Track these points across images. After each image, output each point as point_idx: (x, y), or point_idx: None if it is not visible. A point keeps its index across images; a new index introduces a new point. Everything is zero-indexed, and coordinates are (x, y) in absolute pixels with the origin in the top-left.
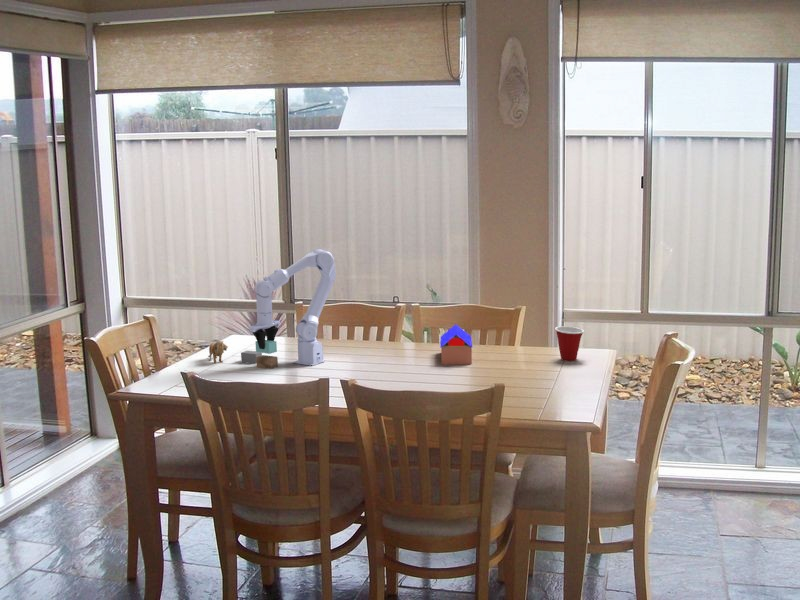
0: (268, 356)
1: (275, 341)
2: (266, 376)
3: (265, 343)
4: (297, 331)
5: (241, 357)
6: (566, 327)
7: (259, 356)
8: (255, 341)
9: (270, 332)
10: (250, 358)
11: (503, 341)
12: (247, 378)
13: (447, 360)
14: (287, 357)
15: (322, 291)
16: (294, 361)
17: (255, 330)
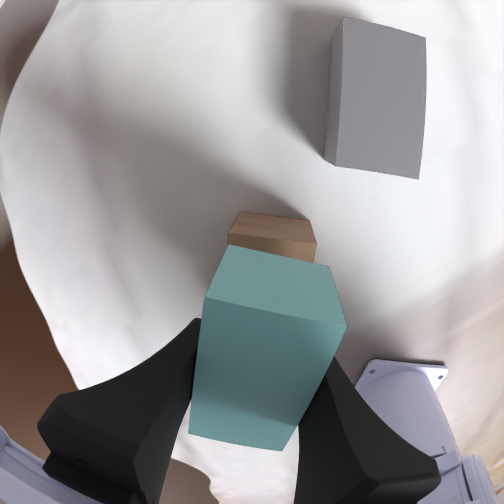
0: None
1: (278, 448)
2: (109, 345)
3: (191, 405)
4: (442, 497)
5: (335, 32)
6: None
7: (261, 244)
8: (205, 296)
9: (312, 488)
10: (332, 111)
11: None
12: (52, 287)
13: None
14: (485, 269)
15: None
16: (378, 364)
17: (28, 467)
